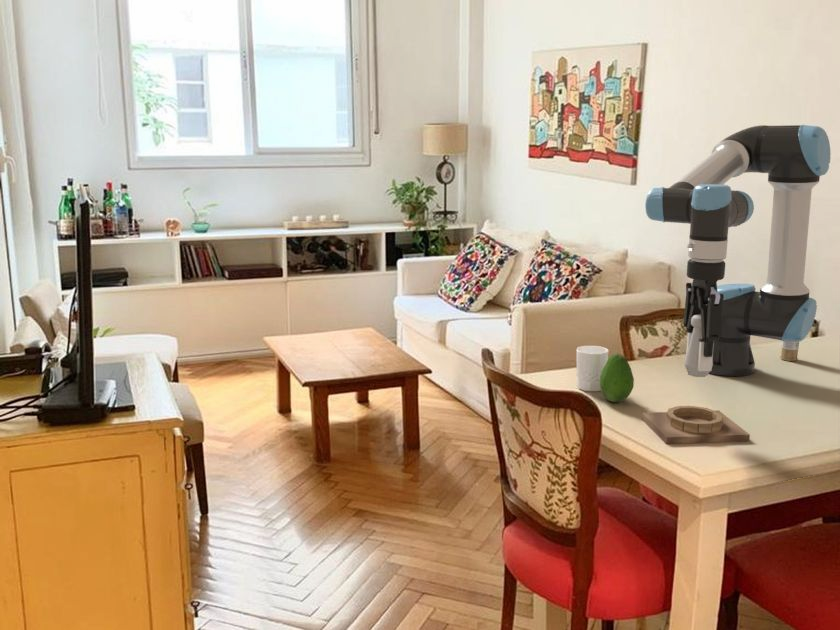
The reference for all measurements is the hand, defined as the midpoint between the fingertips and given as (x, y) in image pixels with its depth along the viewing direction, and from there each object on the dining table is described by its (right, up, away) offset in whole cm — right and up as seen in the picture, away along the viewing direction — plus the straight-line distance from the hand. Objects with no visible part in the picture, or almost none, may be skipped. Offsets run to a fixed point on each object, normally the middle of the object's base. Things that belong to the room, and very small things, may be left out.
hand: (698, 366), depth 178 cm
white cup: (-16, -8, +32) cm, 37 cm away
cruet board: (0, -14, +3) cm, 15 cm away
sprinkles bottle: (+45, -2, +57) cm, 72 cm away
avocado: (-12, -10, +22) cm, 27 cm away
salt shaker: (0, -2, 0) cm, 2 cm away
